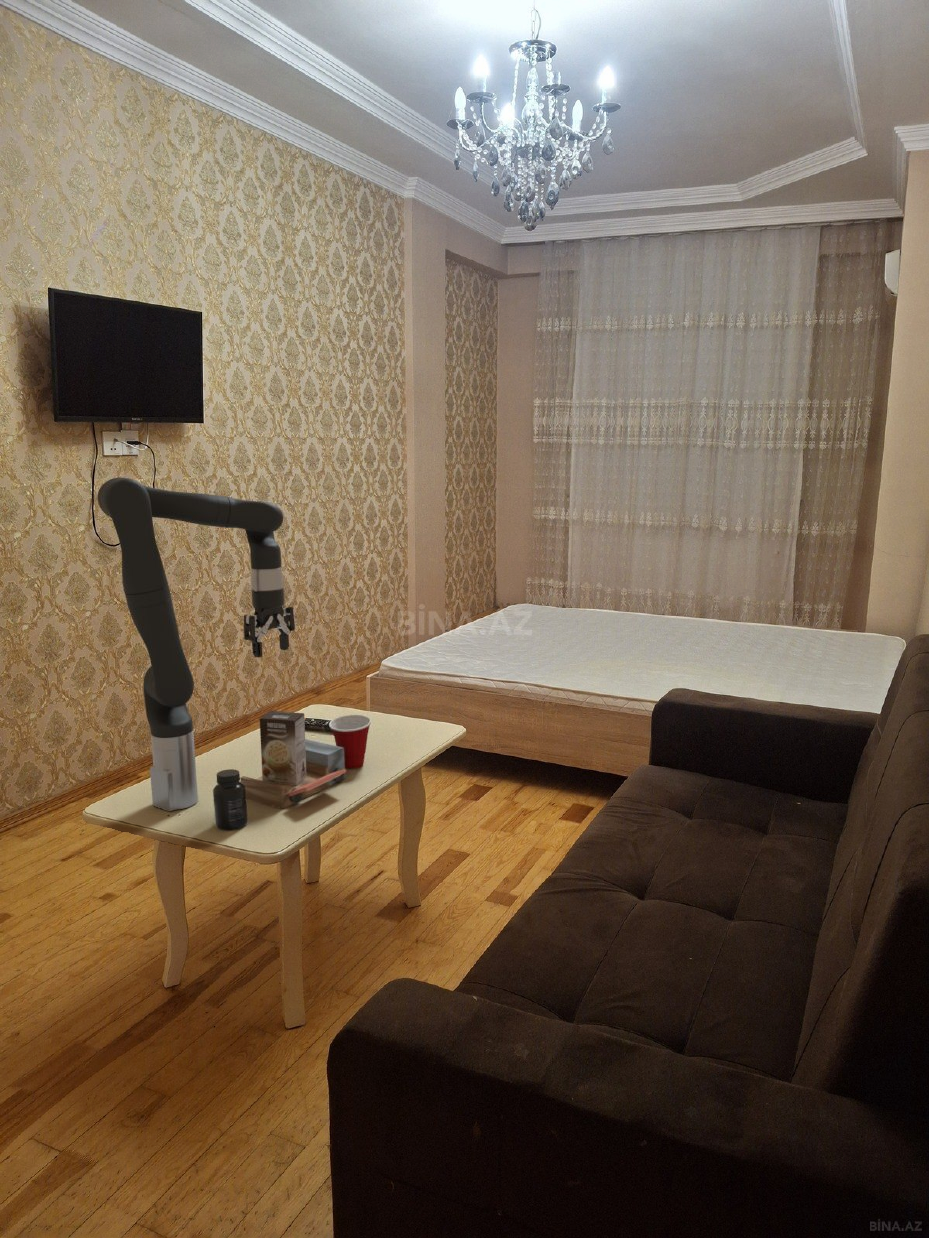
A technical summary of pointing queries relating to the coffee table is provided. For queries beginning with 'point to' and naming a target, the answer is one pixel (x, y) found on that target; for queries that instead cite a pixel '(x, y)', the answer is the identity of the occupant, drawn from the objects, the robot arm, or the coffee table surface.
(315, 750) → the wooden tray with block
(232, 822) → the supplement bottle
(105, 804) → the coffee table surface
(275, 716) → the coffee box
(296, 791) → the panel
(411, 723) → the coffee table surface
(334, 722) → the plastic cup
